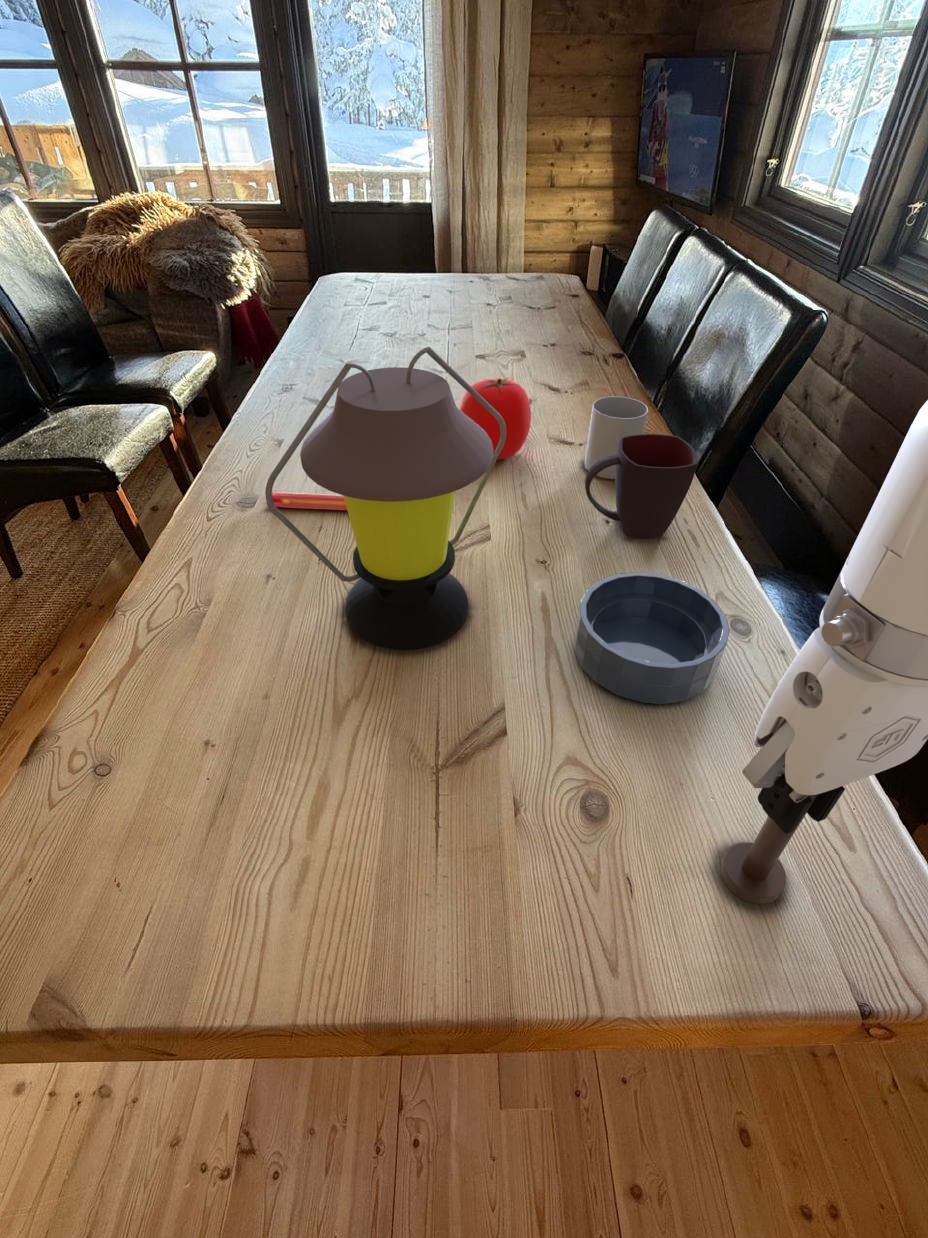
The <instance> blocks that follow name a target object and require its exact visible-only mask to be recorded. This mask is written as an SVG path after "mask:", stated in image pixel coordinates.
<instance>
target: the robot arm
mask: <svg viewBox="0 0 928 1238" xmlns="http://www.w3.org/2000/svg"><path fill="white" fill-rule="evenodd" d="M818 622H819V626H818V627H817V628H816V629H815V630H813V632H812V633H811V634H810V636H808V638H807V640H806V641H805V643H804V644H803V645H802V647H801V648H800V650H799V651H798V652H797V654H796V656H795V657H794V659H793V660H792V662H791V663H790V665H789V666H788V668H787V669H786V671H785V672H784V674H783V676H782V677H781V679H780V681H779V683H778V684H777V686H776V688H775V689H774V690H773V691H774V692H772V695H771V696H770V698H769V700H768V702H767V704H766V705H765V708H764V710H763V712H762V714H761V717H760V718H759V720H758V721H759V722H758V724H757V726H756V729H755V734H754V739H753V743H754V746H755V747H758V748H760V750H759V751H758V752H757V753H756V754H755V755H754V756H753V757H752V759H751V760H750V761H749V762H748V763H747V764H746V765H745V767H744V768H743V769H742V770H741V773H742V774H743V776H744V777H745V778H746V780H747V781H748V782H749V783H750V785H751V786H752V788H754V789H760V791H759V793H758V795H757V801H758V803H759V804H760V806H761V808H762V810H763V811H764V813H765V814H766V815H767V817H768V816H769V817H770V818H771V819H773V820H774V821H775V823H776V824H777V825H778V826H779V827H780V829H781V830H782V831H783V832H784V833H785V834H788V833H791V832H793V831H794V830H795V829H796V827H797V825H798V824H799V822H800V821H801V819H802V817H803V816H804V814H805V813H806V811H807V809H808V808H809V806H810V805H811V803H812V800H811V798H810V796H809V795H816V794H818V796H817V797H816V799H815V800H814V802H813V804H812V805H811V807H810V808H809V810H808V812H807V813H806V814H807V815H808V816H809V817H810V818H811V820H813V821H814V822H815V821H816V822H821V821H825V820H826V819H827V818H828V816H829V815H830V813H831V811H832V810H833V808H834V807H835V806H836V804H837V802H839V799H840V798H841V797H842V795H843V793H844V792H845V790H846V788H845V787H844V786H846V785H849V784H852V783H855V782H857V781H861V780H863V779H865V778H868V777H871V776H874V775H876V774H879V773H882V772H884V771H887V770H890V769H892V768H894V767H896V766H898V765H899V766H900V765H901V764H904V763H905V762H908V761H909V760H910V759H912V758H913V757H915V756H916V755H917V754H918V753H919V752H920V750H921V749H922V747H924V745H925V743H926V742H927V741H928V399H927V400H926V401H925V402H924V404H923V405H922V406H921V407H920V409H919V410H918V412H917V414H916V416H915V418H914V420H913V421H912V423H911V425H910V427H909V429H908V431H907V433H906V436H905V437H904V440H903V442H902V444H901V446H900V448H899V450H898V452H897V454H896V457H895V458H894V460H893V462H892V465H891V467H890V469H889V471H888V473H887V475H886V477H885V479H884V481H883V483H882V486H881V488H880V490H879V492H878V494H877V496H876V498H875V499H874V503H873V504H872V506H871V509H870V511H869V512H868V515H867V517H866V518H865V521H864V523H863V524H862V527H861V528H860V531H859V533H858V535H857V537H856V540H855V541H854V544H853V546H852V547H851V550H850V552H849V554H848V556H847V558H846V560H845V562H844V565H843V566H842V569H841V570H840V572H839V574H838V577H837V578H836V581H835V583H834V584H833V587H832V589H831V591H830V593H829V595H828V597H827V600H826V601H825V604H824V605H823V608H822V610H821V612H820V615H819V621H818ZM804 817H805V816H804ZM801 822H802V821H801ZM799 825H800V824H799ZM796 830H797V829H796Z"/></svg>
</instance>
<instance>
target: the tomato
mask: <svg viewBox="0 0 928 1238" xmlns="http://www.w3.org/2000/svg"><path fill="white" fill-rule="evenodd" d="M470 386H471V387H472V388H473V389H474V390H475V391H476V392H477V393H478V394H479V395H480V396H481V397H482V398H484V399H485V400H486V401H487V402H488V403H489V404H490V405H491V406H492V407H493V408H494V409H495V410H496V411H497V412H498V413H499V414H500V415H501V416H502V418H503V420H504V422H505V425H506V439H505V443H504V446H503V448H502V450H501V452H500V454H499V456H498V458H497V460H496V461H499V460H505V459H508V458H510V457H513V456H514V455H515V454H517V453H518V452H519V451H520V450H521V449H522V447H523V446H524V444H525V442H526V440H527V438H528V435H529V433H530V429H531V421H532V412H531V411H532V410H531V405H530V400H529V397H528V394H527V392H526V389H524V388H523V386H522V385H521V384H519V383H517V382H515V381H513V380H510V377H507V378H484V379H482V380H479V381H476V382H475V383H473V384H471V385H470ZM459 410H461V411H462V412H463V413H464V414H466V415H467V416H468V417H469V418H471V419H472V420H473V421H474V422H476V423H477V424H478V425H479V426H480V427H481V428H483V429H484V430H485V432H486V433H487V434H488V436H489V438H490V439H491V441H492V445H493V454H494V452H495V450H496V448H497V446H498V444H499V441H500V437H501V428H500V424H499V422H498V420H497V419H496V418H495V417H494V416H493V415H492V414H491V413H490V412H489V411H488V410H487V409H486V408H485V407H484V406H483V405H481V404H480V403H479V402H478V401H477V400H476V399H475V398H474V397H473V396H472V395H471V394H470V393H469V392H468V391H467V390H466V392H465V393H464V394H463V397H462V400H461V403H460V408H459Z"/></svg>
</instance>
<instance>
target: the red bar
mask: <svg viewBox="0 0 928 1238" xmlns="http://www.w3.org/2000/svg"><path fill="white" fill-rule="evenodd" d="M272 499H273V503H274V505H275V506H276V507H280V508H290V509H291V508H292V509H309V510H310V509H311V510H312V509H313V510H330V511H331V510H332V511H334V510H335V511H347V507H346V503H345V500H344V496H343V495H340V494H325V493H324V494H323V493H322V494H321V493H303V492H302V493H301V492H283V491H282V492H273V491H272Z"/></svg>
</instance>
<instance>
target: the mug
mask: <svg viewBox="0 0 928 1238" xmlns="http://www.w3.org/2000/svg"><path fill="white" fill-rule="evenodd" d="M698 464H699V456H698V454H697V452H696V450H695V449H694V447H693V446H692V445H691V444H689V442H687V441H686V440H685V439H683V438H681V437H679V436H677V435H671V434H662V433H644V434H637V435H630V436H625V437H621V438H620V440H619V443H618V449H617V455H613V456H609V457H606V458H603V459H601V460H599V461H598V462H596V463H595V464H594V465H593V466H592V467H591V468H590V469H589V471H588V470H587V473H586V474H585V475H586V476H585V479H584V488H585V493H586V496H587V498H588V501H589V502H590V503H591V505H592V506H593V507H594V508H595V509H596V510H597V511H598V512H599V513H601V514H602V515H603V516H605V517H606V518H608V519H610V520H613V521H616V522H617V523H618V526H619V529H620V530H621V532H622V533H623V534H624V535H625V536H626V537H627V538H628V539H635V540H653V539H659V538H662V537H663V536H664V535H665V533H666V531H667V530H668V528H669V527H670V526H671V524H672V523H673V522H674V519H675V518H676V516H677V514H678V512H679V510H680V509H681V506H682V505H683V502H684V501H685V499H686V496H687V494H688V492H689V490H690V488H691V485H692V483H693V480H694V477H695V474H696V471H697V467H698ZM613 465H616V469H615V479H614V481H615V485H614V486H615V507H616V510H615V511H614V510H610V509H607V508H605V506H603V505H601V504H600V503H599V502H597V500H595V498H594V496H593V495H592V492H591V484H592V482H593V480H594V479H595V477H597V476H596V475H597V474H598V473H599V472H600V471H602V470H603V469H605V468H607V467H610V466H613Z"/></svg>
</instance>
